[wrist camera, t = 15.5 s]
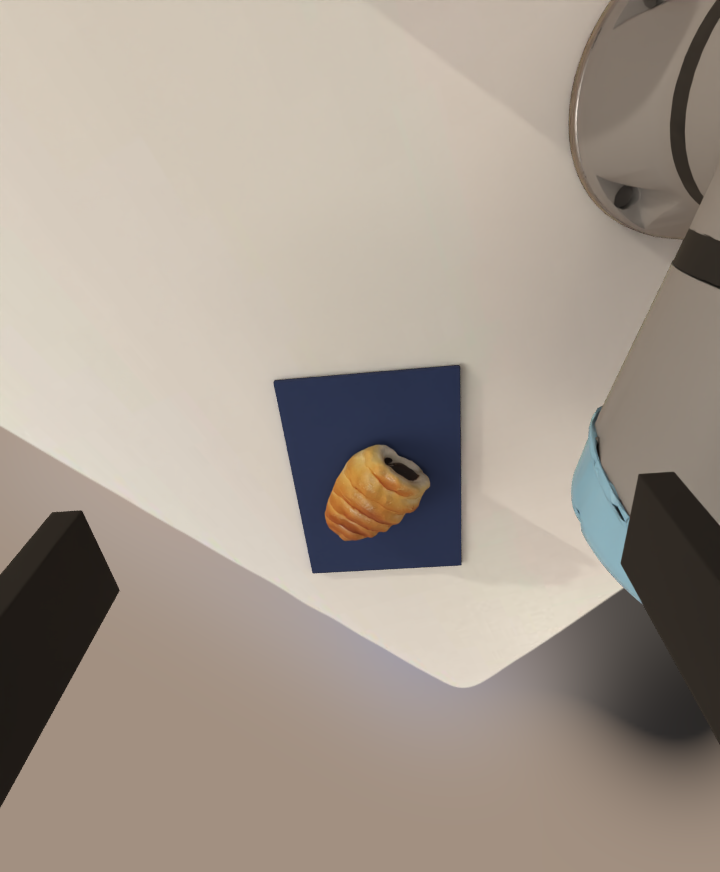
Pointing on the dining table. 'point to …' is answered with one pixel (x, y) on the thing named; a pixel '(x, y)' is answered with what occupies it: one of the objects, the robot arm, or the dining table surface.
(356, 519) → the pastry
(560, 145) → the dining table surface
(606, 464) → the robot arm
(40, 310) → the dining table surface
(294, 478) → the cloth mat
